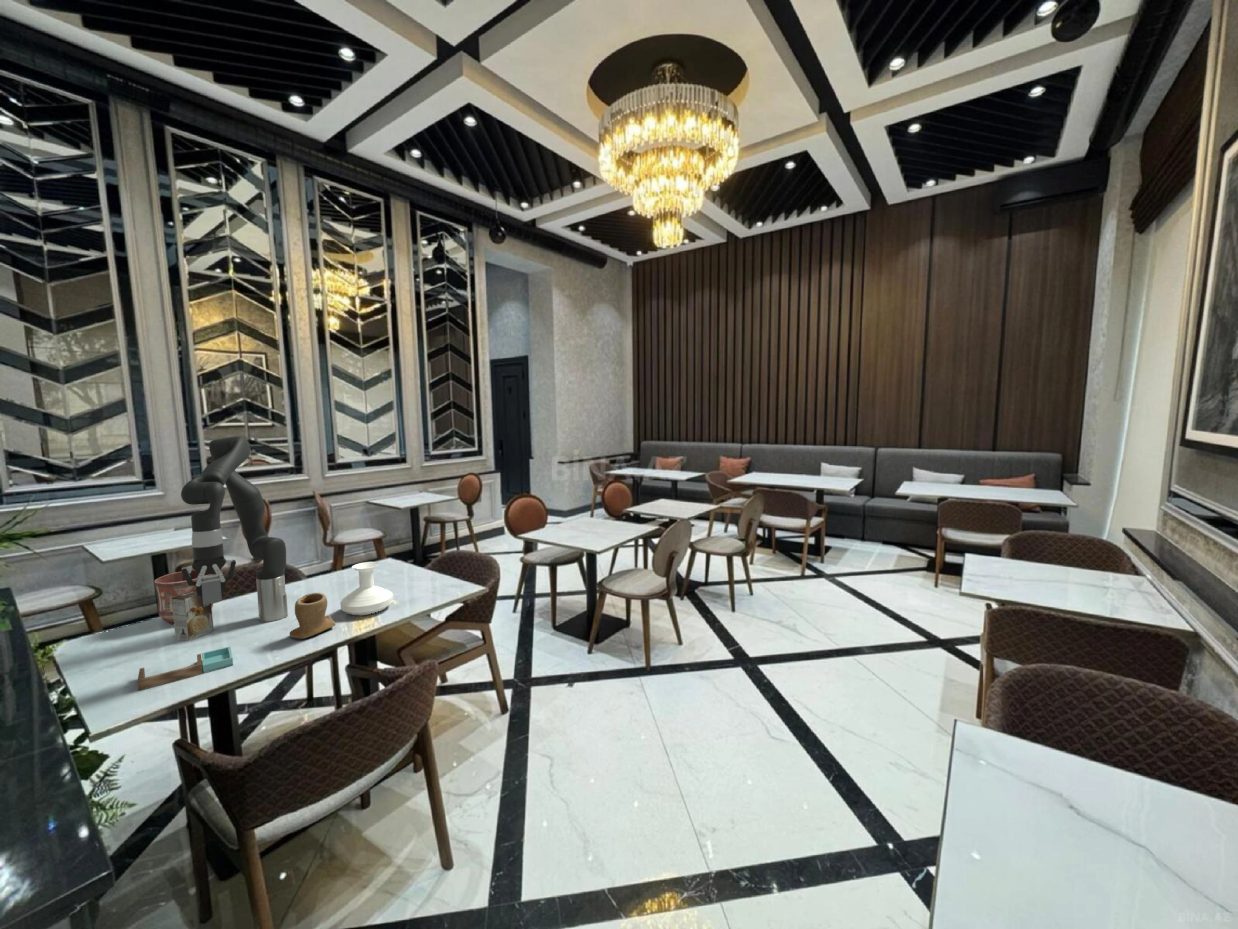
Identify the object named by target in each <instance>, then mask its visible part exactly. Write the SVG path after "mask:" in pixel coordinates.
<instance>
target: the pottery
mask: <svg viewBox="0 0 1238 929" xmlns="http://www.w3.org/2000/svg"><path fill="white" fill-rule="evenodd" d="M189 574H190V576H191V578H192V580H193V581H197V578H198V574H199V573H198V572H197V571H196V570H194V569H191V573H189ZM211 575H213V574H209V575H205V576H211ZM205 576H204V577H205ZM153 584H154V589H155V594H156V598H157V611H158V613H157V614H158V616H159V617H160V619H161V620H162V621H163V622H166V623H168V624H170V625H174V617H173V607H172V597H175V596H178V595H181V594H184V593H187V592H191V591H194V590H196V586H189V585H188V583H187V581H186V579H185V577H184V575H183V573H182V570H180V571H178V572H177V571H176V572H172V573H167V574H164V575H163V576H160V577H158V578H156V579H154V581H153ZM211 607H212V608H213V607H214V603H211Z"/></svg>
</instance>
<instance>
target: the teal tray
mask: <svg viewBox="0 0 1238 929" xmlns="http://www.w3.org/2000/svg"><path fill="white" fill-rule="evenodd" d="M233 659H234V658H233V654H232V648H231V646H226V647H222V648H217V649H213V650H209V651H205V652H203V653H201V660H202V674H206V673H209V672H212V671H216V670H217V671H218V670H220V669H224V668H227V667H228V668H229V667H231V666H234V661H233Z"/></svg>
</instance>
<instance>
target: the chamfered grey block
mask: <svg viewBox="0 0 1238 929" xmlns="http://www.w3.org/2000/svg"><path fill="white" fill-rule="evenodd" d="M201 584H202V596H203V604H209V603H213V604H214V603H219V602H223V597H222V596H223V595H222V593H221V582H220V578H219V577H218V576H217V574H212V575H211V576H205V577H203V580H202V581H201Z"/></svg>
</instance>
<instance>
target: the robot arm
mask: <svg viewBox="0 0 1238 929" xmlns="http://www.w3.org/2000/svg"><path fill="white" fill-rule="evenodd" d="M208 448H209V449H208V450H209V453H210V455H211V458H212V462H211V463H209V464H207V466H206V467H205V468H204V469H203V470H202V472H201V473H200V474H199V475H198V476H196V477H194V478H192V479H191V480H189V481H188V482H186V483H185V484H184V486H183V487H182V489H181V491H180V497H181V499H182V501H183V502H184V503H185V504H188V505H194V506H195V505H196V506H197V505H209V506H208V509H205V510H201V511H197V512H194V513H192V515H191V519H190V521H191V533H192V534H191V546H192V557H193V558H192V559H193V560H192V561H193V562H192V563H191V565H189V566H184V567H182V568H181V571H182V573H183V575H184V577H185V579H186V581H187V583H188V585H189V586H196V590H197V596H200V597H203V596H202V584H201V581H202V580H203V577H204V576H205V575H209V574H212V575H217V576H218V577H219V578H220V582H221V594H224V592H225V591H226V590H227V587H226V586H227V584H226V583H227V581H228V580H231V579H232V578H233V575H234V572H235V568H236V565H237V561H236V559H231V560H229V559H226V558H225V554H224V538H223V532H222V528H221V510H222V505H223V502H224V499H225V496H226V495H225V494H226V488H227V491H228V494H229V495H228V496H229V497H230V500H231V503H232V505H233V507H234V510H235V512H236V514H237V516H238V519H239V522H240V525H241V527H242V529H243V533H244V535H245V540H246V543H247V548H248V551H249V553H250V556H251V557H253V558H254V559H255V560H259V561H260V560H261V561H262V568H260V569H258V570H257V571H256V572H255V579H256V580H255V581H256V593H257V606H258V608H257V609H258V620H259V621H260V622H262V623H264V622H267V623H268V622H273V621H274V622H275V621H278V620H281V619H283V618H287V617H288V616H289V612H288V599H287V598H288V597H287V592H286V580H285V570H286V568H287V547H286V543H285V541H284V540H283V539H282V538H279V537H273V536H269V535H268V534H267V531H266V528H265V527H264V516H265V509H266V505H265V501H264V498H263V496H262V493H261V491H260V489H259V488H258V487H257V486H256V485H254V483H252V482H251V481H249V480H247V479H246V478H244V477H243V476H241V474H239V472H237V470H236V469H237V468H238V467H239V466H241V465H242V464H243V463H244V462H246V460H247V459H249V456H250V455H251V446H250V443H249V442H248V440H247V439H246V438H245V437H244V436H229V437H222V438H217V439H212V440H210V442H209V444H208ZM225 486H226V488H225ZM225 564H226V565H227V567H228V571H227V574H226V575H224V574H223V572H222V568H223V567H225ZM191 570H196V571H197V572H198V573H199V574H198V578H197V581H193V580H192V578H191V576H190V574H189V573H191Z"/></svg>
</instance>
